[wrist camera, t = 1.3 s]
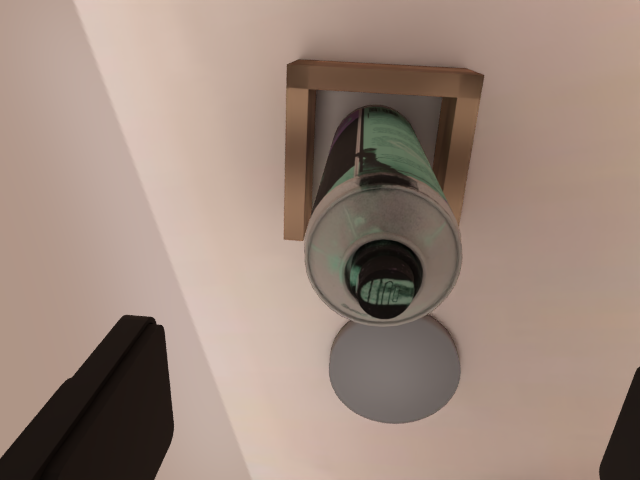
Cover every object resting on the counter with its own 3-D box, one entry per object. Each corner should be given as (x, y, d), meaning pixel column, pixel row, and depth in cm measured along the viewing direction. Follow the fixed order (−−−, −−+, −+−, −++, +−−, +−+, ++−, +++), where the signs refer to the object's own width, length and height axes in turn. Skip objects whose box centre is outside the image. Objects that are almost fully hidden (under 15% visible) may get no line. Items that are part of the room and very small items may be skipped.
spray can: (319, 125, 32) (259, 249, 14) (398, 90, 31) (444, 176, 13) (352, 198, 34) (337, 392, 16) (427, 167, 33) (505, 340, 15)
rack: (442, 222, 34) (454, 252, 30) (294, 212, 35) (283, 239, 30) (466, 68, 30) (484, 75, 26) (298, 59, 31) (286, 64, 26)
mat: (447, 415, 41) (450, 429, 39) (327, 404, 41) (325, 417, 40) (466, 312, 37) (470, 323, 36) (333, 301, 38) (332, 311, 36)
